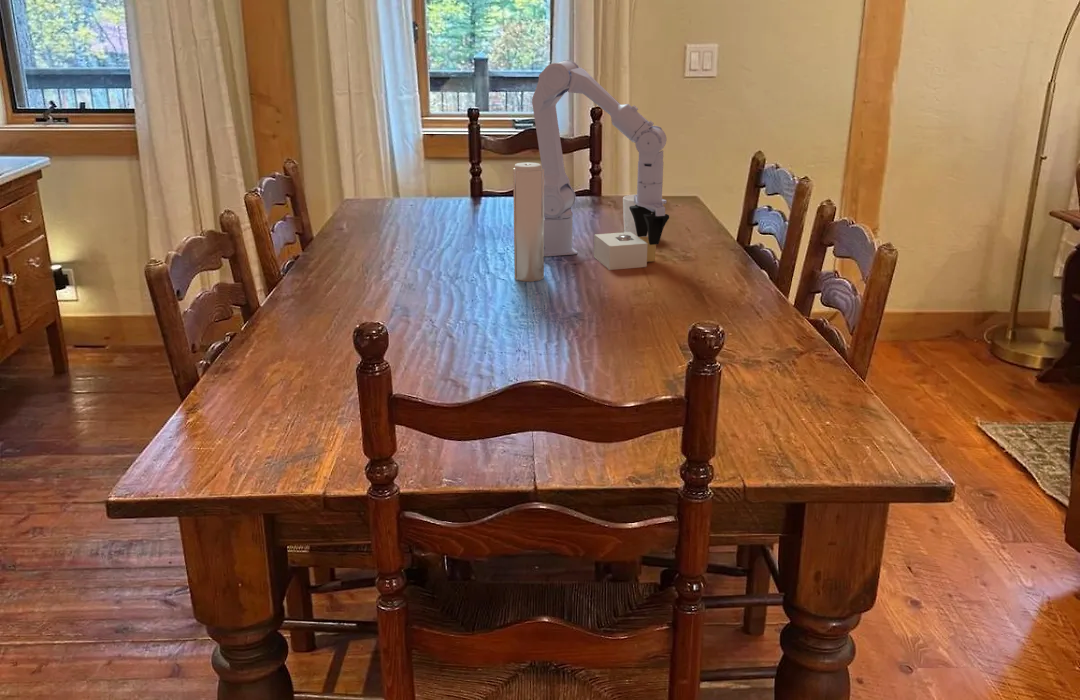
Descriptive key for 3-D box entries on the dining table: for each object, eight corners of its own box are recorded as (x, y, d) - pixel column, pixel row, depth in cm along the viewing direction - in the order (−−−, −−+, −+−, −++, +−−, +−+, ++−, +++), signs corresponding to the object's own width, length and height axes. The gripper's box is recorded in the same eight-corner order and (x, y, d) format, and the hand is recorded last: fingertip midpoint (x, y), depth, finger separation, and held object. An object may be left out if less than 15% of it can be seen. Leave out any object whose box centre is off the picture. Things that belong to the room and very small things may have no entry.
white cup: (652, 232, 244) (654, 194, 241) (652, 240, 237) (654, 201, 233) (622, 232, 245) (623, 194, 241) (621, 239, 238) (622, 200, 234)
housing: (609, 269, 212) (609, 246, 210) (594, 257, 222) (594, 234, 220) (646, 266, 215) (647, 243, 213) (629, 254, 225) (630, 231, 223)
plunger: (620, 246, 216) (621, 238, 215) (616, 243, 218) (616, 235, 217) (632, 245, 216) (632, 237, 216) (628, 242, 219) (628, 234, 218)
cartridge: (612, 264, 216) (613, 244, 214) (606, 259, 220) (607, 239, 218) (655, 261, 218) (655, 241, 217) (648, 256, 222) (648, 236, 221)
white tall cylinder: (540, 282, 203) (540, 167, 194) (511, 281, 205) (510, 166, 195) (546, 274, 209) (546, 161, 200) (518, 272, 210) (516, 160, 201)
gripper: (678, 186, 208) (676, 246, 213) (654, 175, 221) (652, 231, 226) (649, 188, 206) (647, 248, 211) (626, 176, 219) (624, 233, 224)
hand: (647, 240), depth 218 cm, fingers open, 7 cm apart
